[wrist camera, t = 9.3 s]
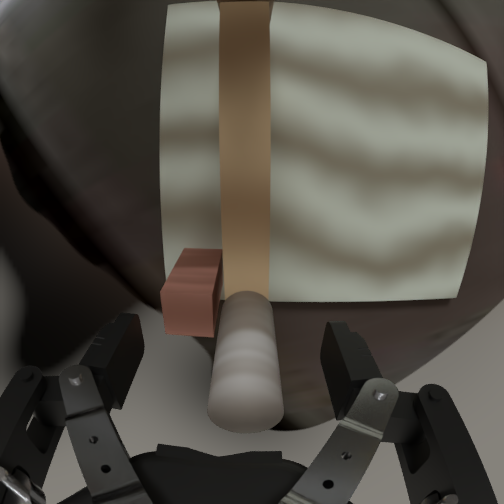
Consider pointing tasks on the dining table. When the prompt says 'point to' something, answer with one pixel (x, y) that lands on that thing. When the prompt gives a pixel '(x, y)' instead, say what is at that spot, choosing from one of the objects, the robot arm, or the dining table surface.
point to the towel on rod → (326, 161)
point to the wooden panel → (245, 227)
